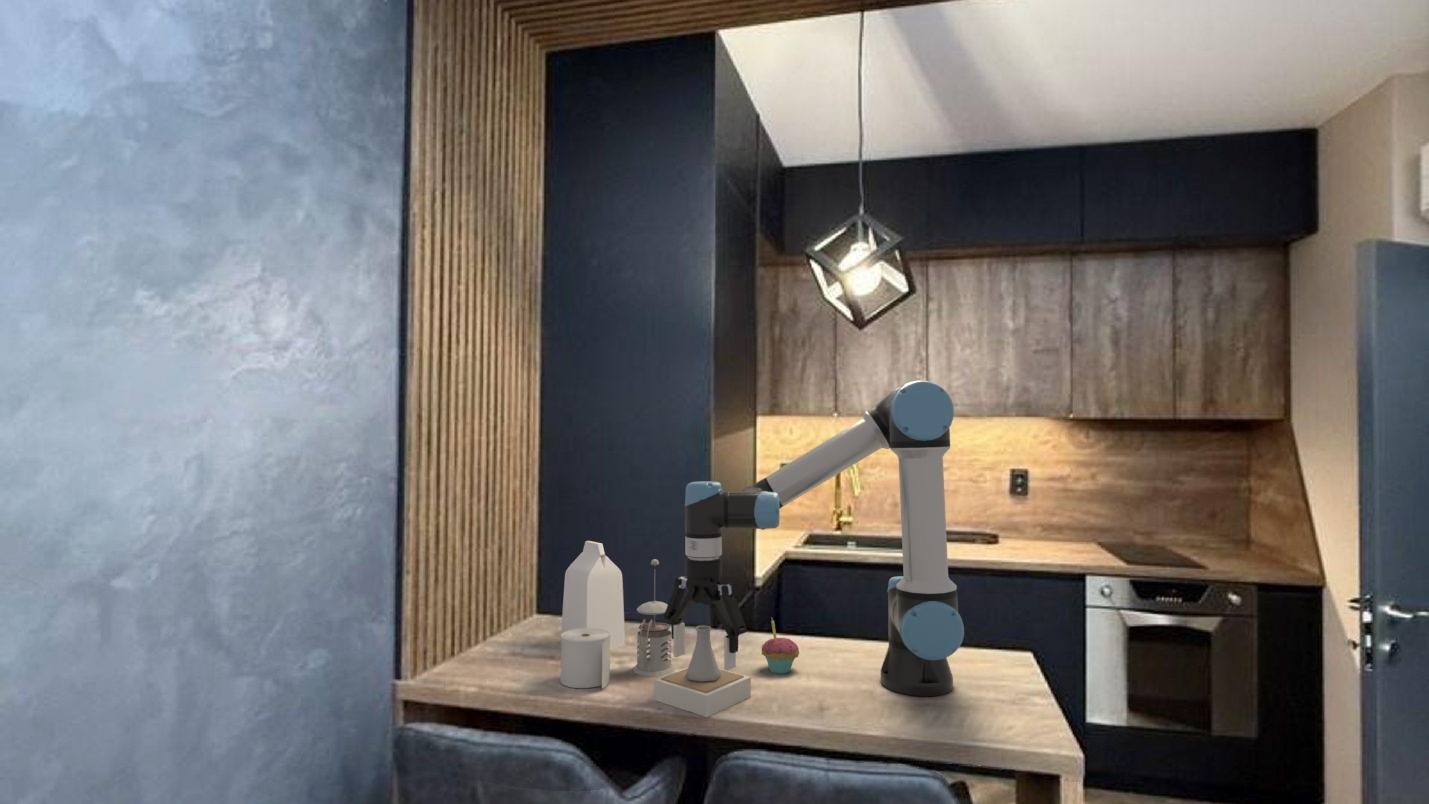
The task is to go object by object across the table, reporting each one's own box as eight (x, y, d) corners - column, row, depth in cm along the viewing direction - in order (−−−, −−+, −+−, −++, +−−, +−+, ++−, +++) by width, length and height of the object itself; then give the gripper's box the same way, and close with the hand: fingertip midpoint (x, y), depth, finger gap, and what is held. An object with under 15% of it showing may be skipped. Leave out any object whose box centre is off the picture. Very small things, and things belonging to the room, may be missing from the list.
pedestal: (750, 696, 151) (750, 675, 151) (706, 717, 140) (707, 694, 140) (698, 681, 160) (699, 661, 160) (654, 699, 149) (654, 678, 149)
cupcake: (768, 677, 163) (768, 623, 163) (756, 665, 171) (756, 613, 172) (804, 674, 165) (804, 620, 166) (790, 662, 173) (790, 611, 174)
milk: (560, 644, 187) (561, 542, 188) (598, 636, 195) (599, 537, 196) (586, 655, 178) (587, 547, 179) (625, 646, 186) (626, 542, 187)
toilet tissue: (576, 670, 168) (577, 625, 168) (623, 676, 163) (624, 630, 164) (550, 685, 158) (551, 638, 158) (600, 692, 153) (600, 643, 154)
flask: (720, 683, 147) (720, 632, 147) (684, 682, 147) (684, 632, 147) (721, 671, 154) (721, 623, 154) (686, 670, 154) (687, 622, 154)
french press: (681, 664, 172) (681, 556, 173) (664, 680, 161) (665, 565, 161) (641, 660, 174) (642, 554, 175) (622, 676, 163) (623, 563, 164)
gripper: (647, 553, 156) (647, 654, 155) (740, 566, 140) (741, 679, 140) (671, 548, 162) (671, 646, 161) (763, 561, 146) (764, 669, 145)
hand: (703, 662), depth 150 cm, fingers open, 13 cm apart
